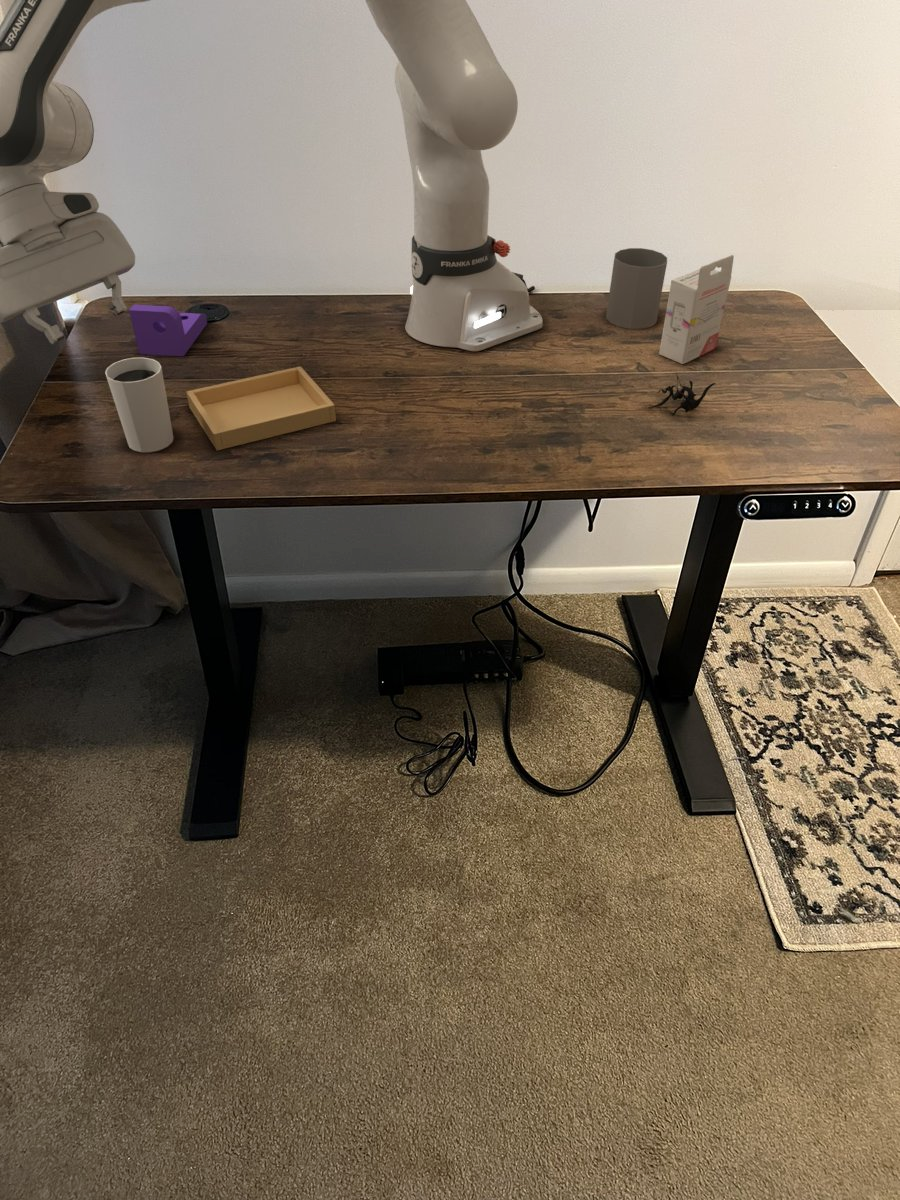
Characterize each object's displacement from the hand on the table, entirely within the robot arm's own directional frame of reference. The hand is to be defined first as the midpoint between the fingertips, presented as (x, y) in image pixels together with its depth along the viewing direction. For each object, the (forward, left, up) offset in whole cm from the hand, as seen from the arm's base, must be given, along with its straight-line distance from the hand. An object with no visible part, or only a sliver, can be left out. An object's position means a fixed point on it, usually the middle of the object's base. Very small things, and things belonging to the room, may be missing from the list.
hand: (90, 327), depth 113 cm
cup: (-82, +11, -11) cm, 84 cm away
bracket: (-13, -16, -11) cm, 23 cm away
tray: (-17, +13, -11) cm, 24 cm away
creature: (-69, +38, -11) cm, 80 cm away
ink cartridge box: (-82, +25, -11) cm, 87 cm away
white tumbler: (-2, +13, -11) cm, 17 cm away
